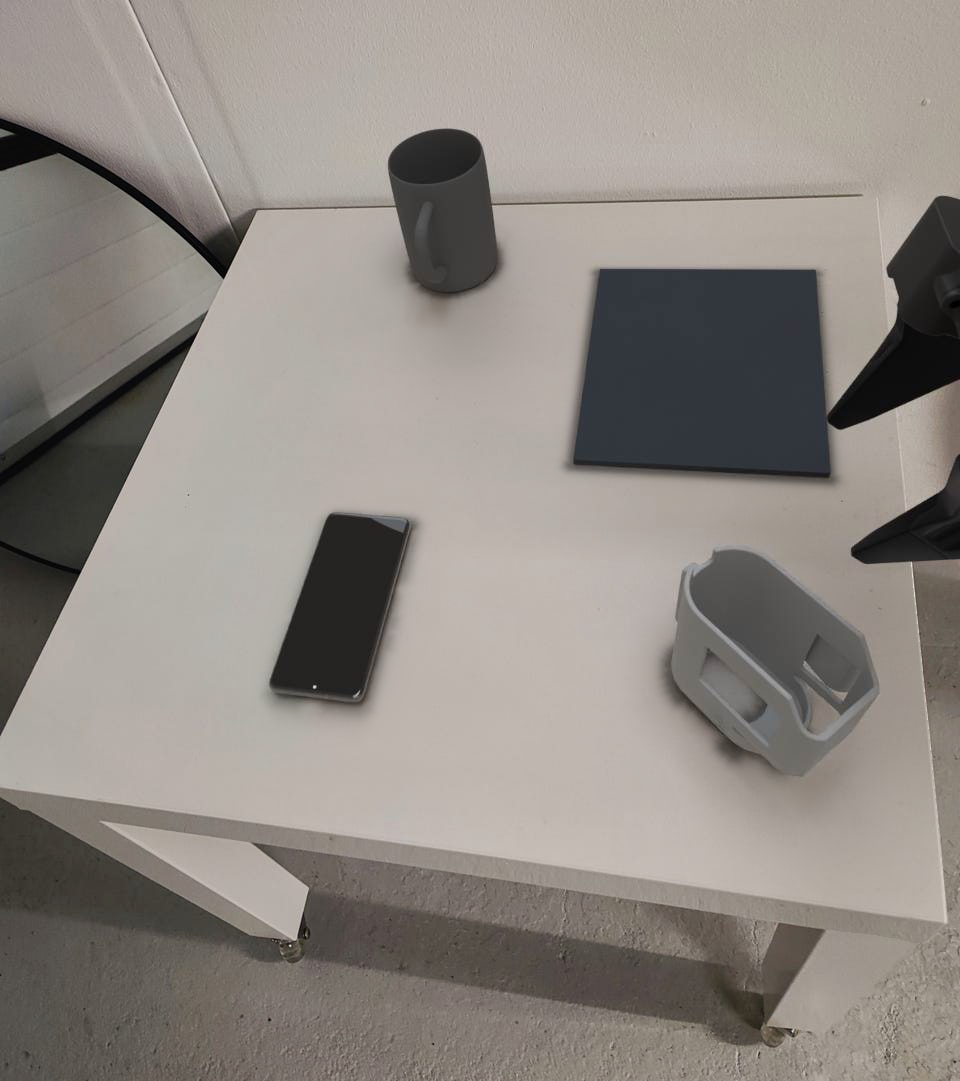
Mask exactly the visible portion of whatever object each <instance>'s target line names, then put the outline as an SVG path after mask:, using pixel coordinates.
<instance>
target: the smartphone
mask: <svg viewBox="0 0 960 1081" xmlns="http://www.w3.org/2000/svg"><path fill="white" fill-rule="evenodd" d="M411 528H412V523H411V521H410V520H409V519H408V518H407V517H402V516H391V515H377V514H365V513H364V514H363V513H351V512H335V511H333V512H331V513H329V514H327V516H326V518H325V520H324V523H323V526H322V529H321V532H320V534H319V538H318V540H317V543H316V545H315V549H314V552H313V555H312V557H311V560H310V562H309V563H310V564H309V566H308V569H307V572H306V575H305V578H304V580H303V583H302V586H301V589H300V591H299V595H298V598H297V600H296V603H295V606H294V608H293V612H292V614H291V618H290V620H289V623H288V626H287V629H286V631H285V634H284V637H283V639H282V643H281V646H280V649H279V651H278V655H277V657H276V660H275V663H274V666H273V669H272V672H271V675H270V678H269V682H268V685H269V688H270V690H271V691H272V692H273V693H278V694H282V695H289V696H291V695H292V696H299V697H306V698H313V699H323V700H330V701H336V702H337V701H339V702H346V703H358V702H360V701H361V700H362V699H363V698H364V697H365V695H366V694H365V693H366V690H367V687H368V683H369V679H370V675H371V672H372V668H373V665H374V662H375V658H376V654H377V651H378V647H379V645H380V644H379V643H380V639H381V637H382V632H383V629H384V625H385V622H386V618H387V615H388V611H389V607H390V603H391V600H392V596H393V594H394V590H395V586H396V583H397V579H398V575H399V571H400V568H401V564H402V560H403V557H404V553H405V550H406V546H407V542H408V538H409V535H410V532H411Z"/></svg>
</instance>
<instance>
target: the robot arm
mask: <svg viewBox="0 0 960 1081" xmlns="http://www.w3.org/2000/svg"><path fill="white" fill-rule="evenodd" d="M885 270H886V275H887V277H888V278H889V279H892V280H893V283H894V286H895V290H896V293H897V296H898V299H897V303H896V308H897V309H896V316H895V321H894V324H893V326H892V328H890V331H889V332H888V334H887V335H886V337H884V339H883V341H882V342H881V344H880V345H879V346H878V348H877V349H876V350H875V352H874V353H873V355H872V356H871V357H870V358H869V360H868V362H867V363H866V364H865V365H864V366H863V367H862V369H861V371H860V372H858V375H857V376H856V377H855V379H853V381H851V382H852V383H850V385H849V386H848V387H847V389H846V390H845V391H844V392H843V394H842V395H841V397H840V398H839V399H838V401H837V402H836V403H835V404H834V406H833V407H832V408H831V409H830V411H829V412H828V413H827V414H826V417H827V424H829V425H830V426H832V427H833V428H835V429H836V430H839V431H843V430H846V429H848V428H851V427H854V426H856V425H860V424H862V423H865V422H867V421H871V420H872V419H875V418H877V417H880V416H882V415H884V414H886V413H888V412H890V411H893V410H895V409H897V408H899V407H901V406H904V405H906V404H908V403H910V402H913V401H915V400H917V399H920V398H922V397H924V396H927V395H928V394H931V393H934V392H935V391H938V390H940V389H941V388H944V387H946V386H948V385H951V384H954V383H955V382H958V381H960V198H957V197H954V196H949V195H937V196H936V197H934V199H933V200H932V201H931V203H930V205H929V206H928V207H927V208H926V210H925V211H924V213H923V214H922V215H921V217H920V219H919V220H918V221H917V223H916V224H915V226H914V227H913V228H912V230H911V231H910V233H909V234H908V235H907V237H906V239H905V240H904V241H903V242H902V244H901V246H900V247H899V248H898V250H897V251H896V252H895V254H894V255H893V257H892V258H891V260H890V261H889V263H888V264H887V265H886V266H885ZM850 555H851V557H852V558H853V559H855V560H856V561H857V562H860V563H861V564H863V565H878V564H879V565H881V564H896V563H897V564H898V563H899V564H900V563H915V562H917V563H918V562H935V561H950V560H951V561H955V560H957V561H958V560H960V453H959V454H958V455H957V456H956V457H955V459H954V462H953V464H952V467H951V470H950V473H949V475H948V478H947V480H946V483H945V486H944V487H943V488H942V489H941V490H940V491H938V492H936V493H935V494H933V495H931V496H930V497H928V498H926V499H925V500H923V501H921V502H919V503H918V504H916V505H914V506H913V507H911V508H910V509H908V510H906V511H904V512H902V513H900V514H899V515H898V516H896V517H894V518H893V519H891V520H889V521H888V522H886V523H884V524H883V525H881V526H879V527H877V528H876V529H874V530H873V531H871V532H870V533H868V534H867V535H866V536H864V537H863V538H862V539H860V540H859V541H858V542H856V543H855V544H854V545H852V546H851V547H850Z"/></svg>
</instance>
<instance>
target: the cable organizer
mask: <svg viewBox="0 0 960 1081" xmlns="http://www.w3.org/2000/svg"><path fill="white" fill-rule="evenodd" d="M676 600H677V601H676V608H675V613H674V614H675V615H674V618H675V621H676V623H677V624H676V629H675V637H674V642H673V649H672V654H671V663H670V664H671V665H670V667H671V674H672V678H673V680H674V682H675V684H676V685H677V687H678V688H679V690H680V691H681V692H682V693H683V695H685V696H686V698H688V699H689V701H690V702H692V704H694V705H695V706H696V707H697V708H698V709H699V710H700V712H702V713H703V714H704V715H705V717H707V718H708V720H710V722H712V723H713V724H714V725H715V726H716V727H717V729H719V730H720V731H721V732H722V734H724V735H725V737H726V738H728V739H729V740H730V741H731V742H732V743H734V744H735V745H736V746H738V747H739V748H741V749H743V750H745V751H748V752H750V753H754V754H759V755H761V756H762V757H763V758H765V760H766V761H768V762H769V763H770V764H771V766H773V767H774V768H775V769H776V770H777V771H779V772H780V773H782V774H785V775H786V776H790V777H796V778H802V777H804V776H805V775H806V774H807V773H808V772H810V770H812V769H813V768H814V767H815V766H816V765H817V764H818V763H819V762H820V761H822V760H823V759H824V758H825V757H826V756H828V754H829V753H831V751H833V750H834V749H835V748H836V747H837V746H838V745H839V744H840V743H841V742H842V741H844V740H845V739H846V738H848V736H849V735H850V734H851V733H852V732H853V731H854V729H855V728H856V727H857V726H858V724H859V722H860V721H861V720H862V718H863V717H864V715H865V714H866V712H868V711H869V709H870V707H871V706H872V705H873V703H874V702H875V701H876V699H877V698H878V697H879V695H880V682H879V678H878V674H877V671H876V669H875V666H874V662H873V659H872V656H871V652H870V650H869V646H868V643H867V640H866V636H865V634H864V633H863V632H861V631H860V630H859V629H858V628H857V627H855V625H853V624H852V623H850V622H849V620H847V619H846V618H845V617H844V616H842V615H841V614H840V613H838V612H837V611H836V610H835V609H834V608H832V607H831V606H830V605H829V604H827V603H826V602H825V601H824V600H823V599H822V598H820V597H819V596H818V595H817V594H815V593H814V592H813V591H812V590H810V589H809V588H808V587H807V586H805V585H804V583H802V582H801V581H800V580H799V579H797V578H796V577H795V576H793V575H792V574H791V573H790V572H789V571H787V570H786V569H785V568H784V567H782V566H781V565H780V564H779V563H778V562H776V561H775V560H774V559H772V558H771V557H770V556H768V555H767V554H766V553H764V552H762V551H760V550H757V549H754V548H751V547H748V546H743V545H723V546H722V545H721V546H718V547H714V548H713V549H712V553H711V557H710V558H709V559H708V560H706V561H705V562H703V563H701V564H699V563H697V562H690V563H689V564H688V565H686V566H685V567H683V568H682V570H681V575H680V581H679V587H678V594H677V599H676ZM708 650H709V651H710V652H712V653H713V655H715V656H716V657H717V658H718V659H719V660H720V661H721V662H722V663H723V664H724V665H725V666H727V667H728V668H729V669H730V671H732V672H733V673H734V674H735V675H736V676H737V677H738V678H739V679H740V680H741V681H743V683H745V684H746V685H747V687H749V689H751V691H753V692H754V694H756V695H757V696H758V697H759V698H760V699H761V700H762V701H764V703H766V708H765V710H764V711H763V712H762V714H761V715H760V716H759V717H758V718H756V719H754V720H753V721H750V722H748V721H747V720H746V719H745V718H744V717H743V716H742V715H741V714H740V713H739V712H738V711H737V710H735V708H734V707H732V705H731V704H730V703H728V702H727V700H726V699H724V698H723V697H722V695H720V694H719V693H718V692H717V691H716V690H715V689H714V688H713V687H712V686H711V685H710V684H709V683H708V682H707V681H706V680H705V679H704V678H703V677H702V675H703V670H704V666H705V661H706V658H707V654H708ZM804 662H805V663H806V664H807V665H808V667H809V668H810V669H811V670H812V671H813V672H814V674H815V675H816V676H815V675H814V674H813V673H812V672H811V671H809V670H808V669H807V668H806V667H805V666H804ZM817 677H818V678H817ZM819 679H820V680H819ZM807 686H808V687H809V688H810V689H811V690H813V691H814V692H815V693H816V694H817V695H818V696H819V697H821V699H823V700H824V701H825V702H826V703H827V704H828V705H829V706H831V708H833V709H834V710H835V711H836V712H837V713H838V714H839V716H838V717H837V718H836V719H835V720H834V721H833V722H832V723H831V724H830V725H829V726H828V727H826V728H825V729H824V730H823V731H821V733H820V734H814V733H812V732H810V731H809V730H808V728H809V727H810V724H811V722H812V721H811V720H812V717H813V712H814V710H813V709H814V708H813V700H812V696H811V693H810V690H809V689H808V687H807ZM834 692H838V693H847V694H846V695H845V696H844V698H843V700H842V698H840V697H839V696H838V695H837V694H835V693H834Z"/></svg>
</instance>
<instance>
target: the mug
mask: <svg viewBox="0 0 960 1081" xmlns="http://www.w3.org/2000/svg"><path fill="white" fill-rule="evenodd" d="M387 172H388V178H389V183H390V187H391V192H392V197H393V201H394V205H395V209H396V213H397V218H398V220H399V221H398V222H399V226H400V230H401V234H402V238H403V242H404V246H405V250H406V253H407V257H408V260H409V264H410V267H411V271H412V274H413V275H414V277H415V279H416V280H417V282H419V284H421V285H422V286H423V287H424V288H426V289H429V290H431V291H434V292H438V293H439V292H440V293H456V292H463V291H466V290H469V289H472V288H474V287H476V286H478V285H480V284H482V283H483V282H485V281H486V280H487V279H488V278H489V277H490V276H491V275H492V274H493V272H494V271H495V269H496V266H497V263H498V243H497V234H496V226H495V219H494V218H495V217H494V210H493V201H492V195H491V188H490V181H489V175H488V174H489V173H488V167H487V162H486V155H485V150H484V148H483V144H482V143H481V141H480V139H479V138H478V137H477V136H476V135H474V134H472V133H470V132H469V131H466V130H462V129H458V128H445V127H444V128H434V129H430V130H425V131H420V132H419V133H416V134H413V135H411V136H409V137H407V138H405V139H404V140H402V141H401V142H400V143H398V144H397V145H396V146H395V147H394V148H393V149H392V151H391V152H390V153H389V156H388V159H387Z"/></svg>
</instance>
